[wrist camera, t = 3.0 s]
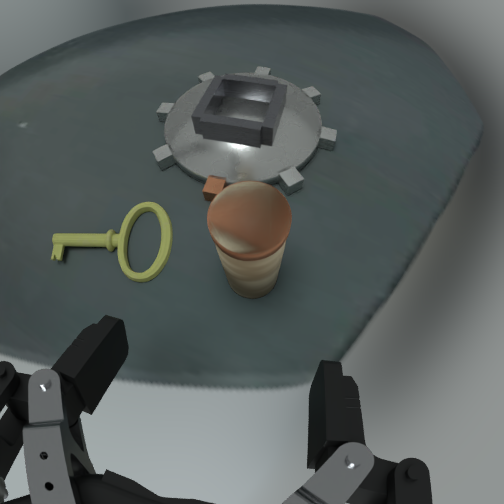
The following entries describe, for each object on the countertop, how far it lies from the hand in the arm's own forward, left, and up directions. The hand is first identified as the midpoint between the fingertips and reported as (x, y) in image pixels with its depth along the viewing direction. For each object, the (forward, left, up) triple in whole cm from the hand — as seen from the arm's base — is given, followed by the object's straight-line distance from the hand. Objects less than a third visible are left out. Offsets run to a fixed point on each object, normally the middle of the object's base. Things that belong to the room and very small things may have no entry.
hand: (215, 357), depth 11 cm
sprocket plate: (-5, +22, -11) cm, 25 cm away
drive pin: (0, +7, -11) cm, 13 cm away
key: (-13, +6, -12) cm, 19 cm away
